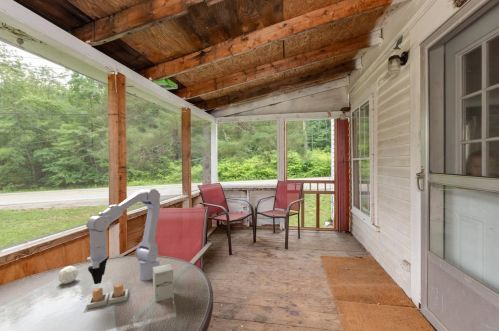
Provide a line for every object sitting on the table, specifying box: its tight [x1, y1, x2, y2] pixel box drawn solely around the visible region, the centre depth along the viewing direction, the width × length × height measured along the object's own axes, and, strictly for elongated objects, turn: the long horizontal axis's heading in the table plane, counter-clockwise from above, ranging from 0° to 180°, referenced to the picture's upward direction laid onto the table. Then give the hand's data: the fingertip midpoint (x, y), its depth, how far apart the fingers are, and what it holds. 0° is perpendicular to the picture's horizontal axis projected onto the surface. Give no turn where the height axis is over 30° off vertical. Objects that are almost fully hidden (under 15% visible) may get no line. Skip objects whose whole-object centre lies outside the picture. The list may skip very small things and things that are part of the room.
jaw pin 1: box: [92, 287, 104, 303], centre depth 95 cm, size 3×3×5 cm
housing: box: [83, 288, 131, 313], centre depth 96 cm, size 15×11×3 cm
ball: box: [57, 265, 79, 285], centre depth 115 cm, size 8×8×8 cm
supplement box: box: [152, 263, 175, 303], centre depth 99 cm, size 7×7×13 cm
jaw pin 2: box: [113, 283, 124, 298], centre depth 98 cm, size 3×3×5 cm
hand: (99, 279), depth 96 cm, fingers open, 7 cm apart
